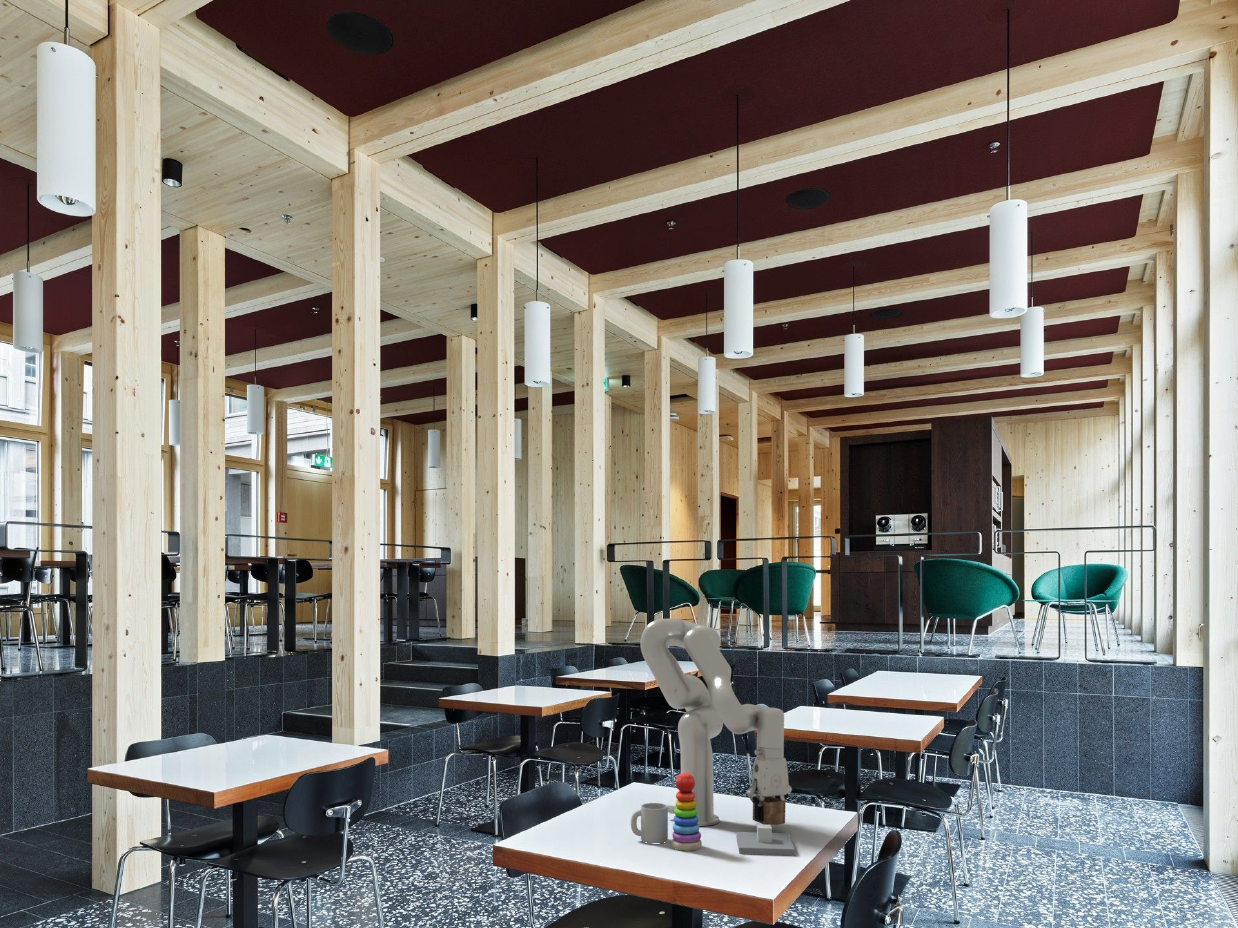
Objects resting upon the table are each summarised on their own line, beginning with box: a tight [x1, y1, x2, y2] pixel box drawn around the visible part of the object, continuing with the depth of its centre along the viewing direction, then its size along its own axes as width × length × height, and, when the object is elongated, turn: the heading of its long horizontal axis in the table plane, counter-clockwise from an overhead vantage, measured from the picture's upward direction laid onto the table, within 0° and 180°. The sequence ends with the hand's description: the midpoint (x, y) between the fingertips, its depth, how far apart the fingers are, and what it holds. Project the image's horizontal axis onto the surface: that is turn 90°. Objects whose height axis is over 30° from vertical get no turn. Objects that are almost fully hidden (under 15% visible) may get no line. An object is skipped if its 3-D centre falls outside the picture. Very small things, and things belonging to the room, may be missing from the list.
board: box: [735, 823, 796, 856], centre depth 227 cm, size 14×15×5 cm
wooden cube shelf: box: [752, 796, 787, 827], centre depth 243 cm, size 6×6×6 cm
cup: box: [630, 802, 669, 844], centre depth 232 cm, size 7×10×9 cm
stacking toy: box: [671, 772, 703, 851], centre depth 227 cm, size 8×8×19 cm
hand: (768, 818), depth 242 cm, fingers closed on wooden cube shelf, 6 cm apart
